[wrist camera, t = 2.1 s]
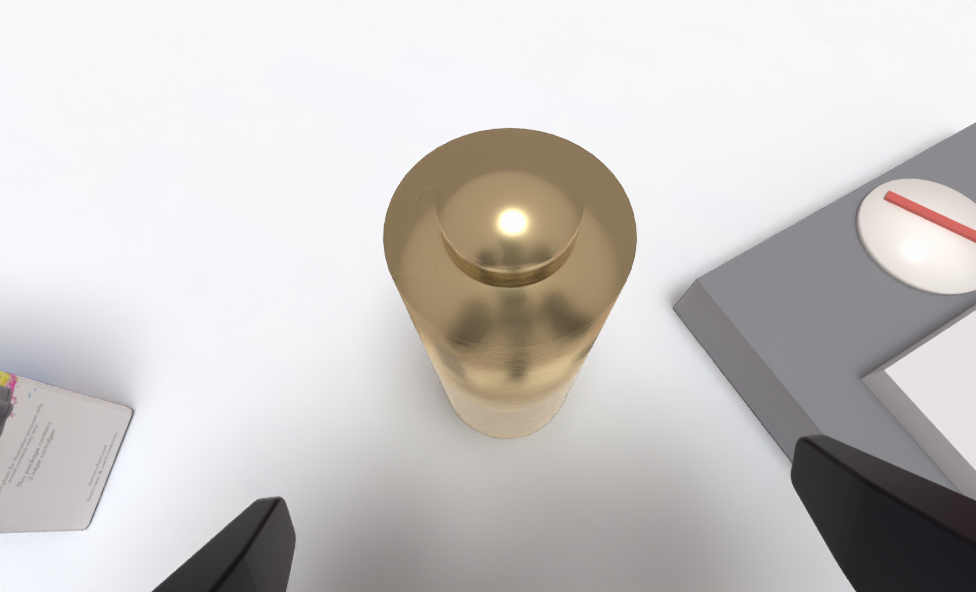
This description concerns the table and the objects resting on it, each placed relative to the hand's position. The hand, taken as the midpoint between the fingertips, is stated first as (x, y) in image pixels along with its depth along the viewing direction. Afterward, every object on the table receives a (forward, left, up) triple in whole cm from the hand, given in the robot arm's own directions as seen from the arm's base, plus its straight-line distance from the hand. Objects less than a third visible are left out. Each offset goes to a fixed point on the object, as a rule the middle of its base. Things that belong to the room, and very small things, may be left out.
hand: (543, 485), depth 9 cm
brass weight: (+2, +5, -11) cm, 13 cm away
